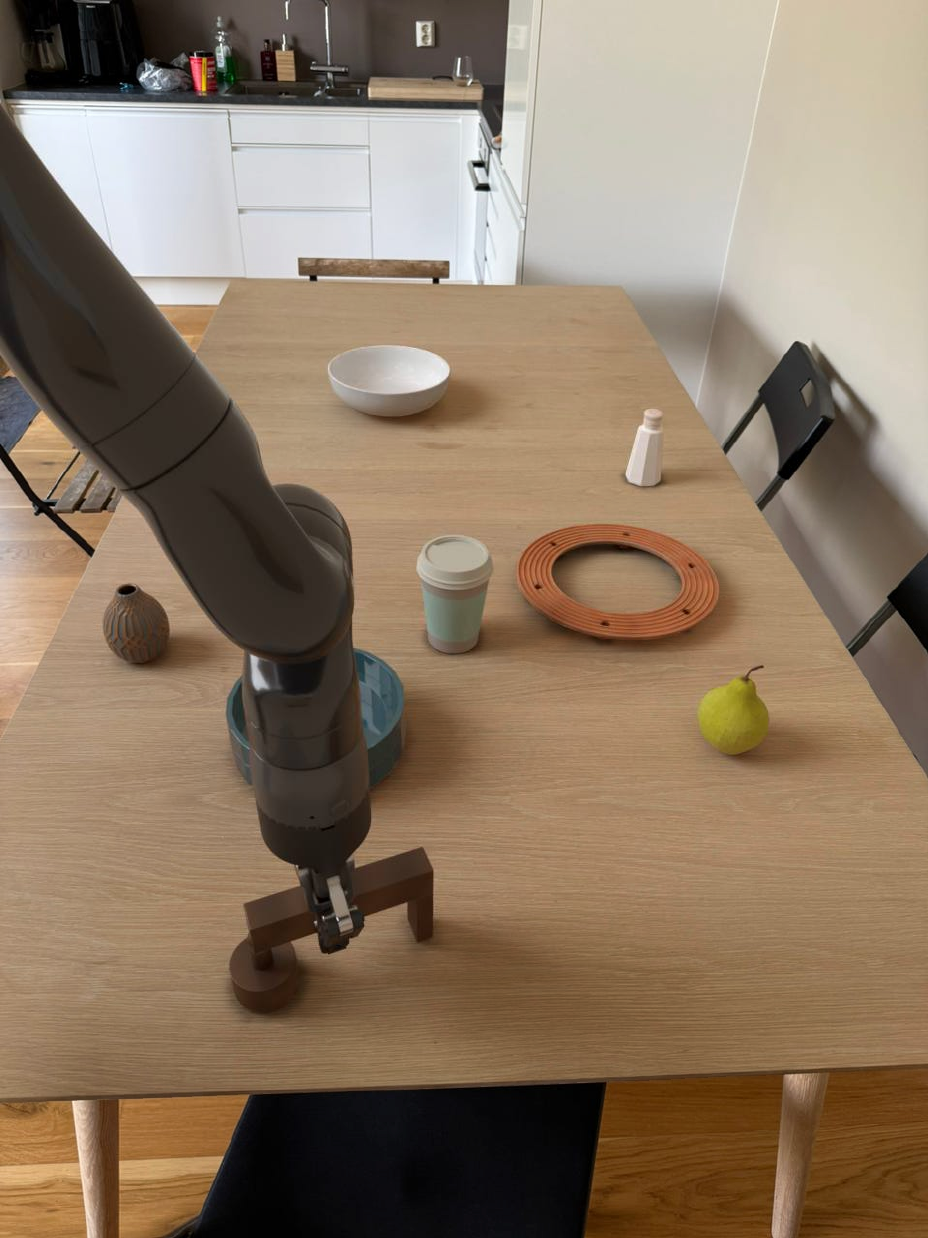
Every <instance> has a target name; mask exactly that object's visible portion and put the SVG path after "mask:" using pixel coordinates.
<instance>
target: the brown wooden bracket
mask: <svg viewBox="0 0 928 1238" xmlns="http://www.w3.org/2000/svg"><path fill="white" fill-rule="evenodd" d="M434 875H435V871H434V867H433V866H432V863H431V861H430V859H429V857H428V854H427V852H426V850H425V847H423V846H420V847H417V848H413V849H411V850H407V851H405V852H401V853H398V854H395V855H392V856H389V857H386V858H382V859H380V860H379V859H378V860H376V861H373V862H369V863H366V864H364V865H360V866H357V867H355V870H354V871H353V873H352V876H353V884H354V892H355V898H354V899H353V901H351V902H350V903H349V907H350V906H353V905H356V906H357V909H360V911H361V913H363V914H364V917H368V916H371V915H374V914H377V913H380V912H383V911H386V910H388V909H391V908H394V907H399V906H400V905H404V904H406V909H407V910H406V913H407V914H406V915H407V917H406V918H407V922H408V925H409V927H410V929H411V932H412V934H413V936H414V939H415V941H416V943H417V944H418V943H422V942H424V941H428V940H430V939H433V938H434V882H435V881H434V879H435V878H434ZM312 890H313V889H312ZM242 905H243V911H244V916H245V920H246V925H247V929H248V933H247V935H246V938H244V939H243V940H242V941H240V943H238V945H237V946H236V947H234V949H233V951H232V953H231V956H230V958H229V962H228V971H229V975H230V980H231V985H232V988H233V992H234V996H235V998H236V1000H237V1002H238V1003H239V1004H240V1005H241V1006H242V1007H243V1008H245V1009H246V1010H248V1011H251V1012H255V1013H270V1012H273V1011H276V1010H278V1009H280V1008H281V1007H283V1006H285V1005H286V1004H287V1003H288V1002H289V1001H290V1000H291V999H292V998H293V996H294V995H295V993H296V992H297V989H298V987H299V982H300V973H299V966H298V961H297V953H296V950H295V949H296V948H295V947H294V945H293V943H292V942H295V941H297V940H300V939H303V938H306V937H309V936H312V935H315V934H317V927H316V928H315V925H314V921H315V918H314V914H311V913H309V911H308V908H307V905H306V902H305V899H304V894H303V888H302V887H301V885H300V884H299V885H298V886H295V887H290V888H288V889H285V890H282V891H278V892H276V893H273V894H269V895H267V896H263V897H259V898H257V899H254V900H250V901H247V902H244V903H242ZM330 909H331V908H329V909H326V910H324V911H327V910H330ZM324 911H323V912H324Z"/></svg>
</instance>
